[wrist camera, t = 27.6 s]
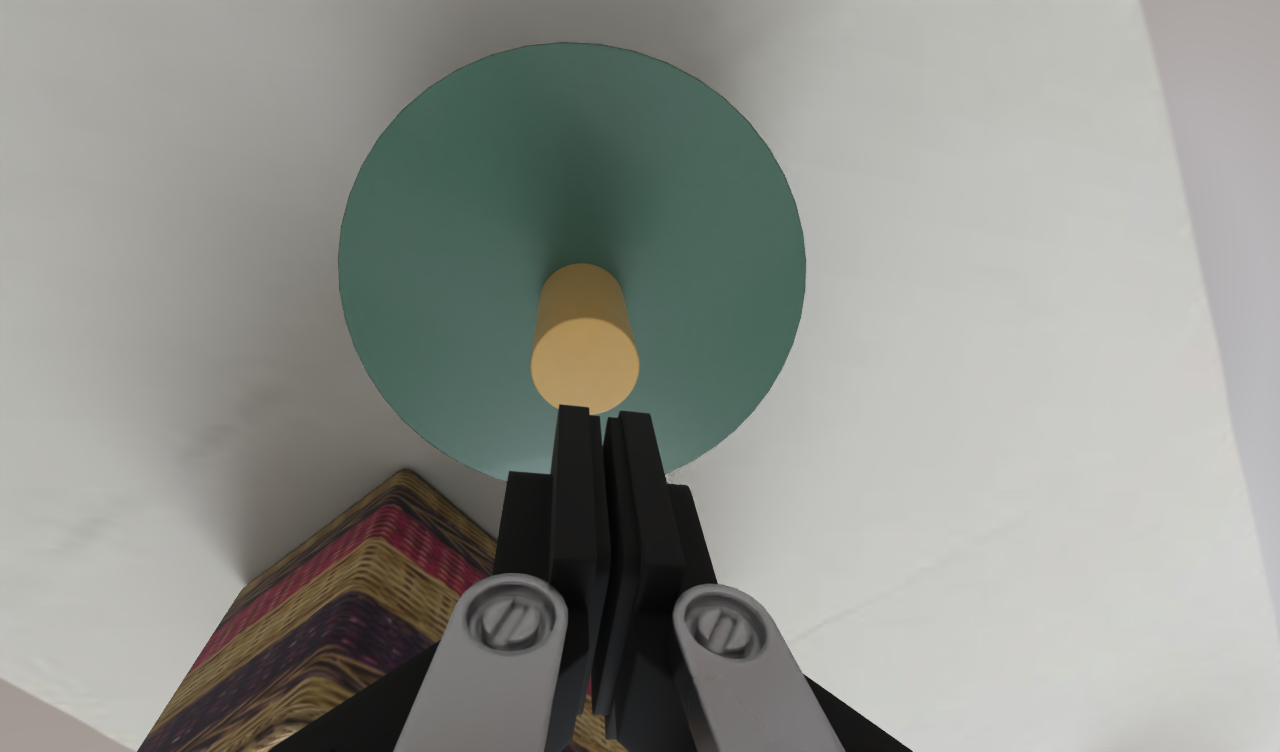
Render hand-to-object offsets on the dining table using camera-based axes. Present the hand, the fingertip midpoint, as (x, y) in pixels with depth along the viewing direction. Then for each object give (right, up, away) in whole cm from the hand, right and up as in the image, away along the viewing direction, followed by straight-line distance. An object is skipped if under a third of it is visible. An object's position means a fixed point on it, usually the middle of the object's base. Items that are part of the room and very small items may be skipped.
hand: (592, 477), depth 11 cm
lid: (-1, +4, +9) cm, 10 cm away
